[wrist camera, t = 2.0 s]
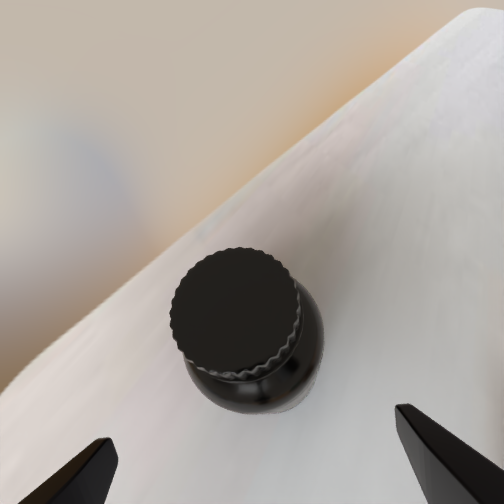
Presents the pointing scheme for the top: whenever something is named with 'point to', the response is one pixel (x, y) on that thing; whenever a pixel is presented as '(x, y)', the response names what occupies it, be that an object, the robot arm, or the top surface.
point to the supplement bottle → (247, 332)
